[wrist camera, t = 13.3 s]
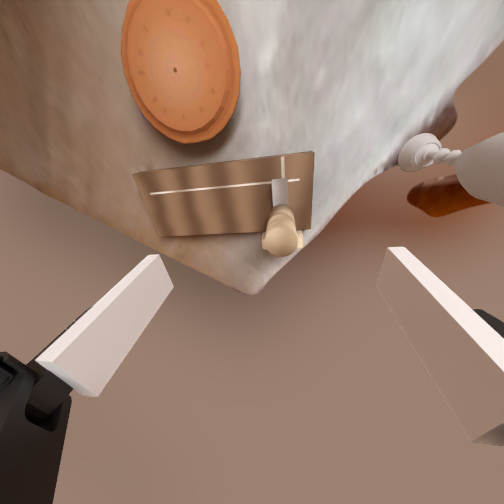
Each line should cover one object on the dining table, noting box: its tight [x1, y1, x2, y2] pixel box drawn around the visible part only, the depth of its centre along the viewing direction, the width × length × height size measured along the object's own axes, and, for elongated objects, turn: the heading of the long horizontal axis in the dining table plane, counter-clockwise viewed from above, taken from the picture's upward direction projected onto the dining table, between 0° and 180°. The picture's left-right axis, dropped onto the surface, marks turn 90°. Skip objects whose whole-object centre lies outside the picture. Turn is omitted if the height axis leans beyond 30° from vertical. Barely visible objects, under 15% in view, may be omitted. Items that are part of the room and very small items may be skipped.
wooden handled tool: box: [262, 178, 303, 257], centre depth 28 cm, size 7×11×14 cm, turn 7°
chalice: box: [398, 132, 504, 206], centre depth 20 cm, size 7×7×18 cm
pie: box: [121, 0, 241, 144], centre depth 25 cm, size 15×16×5 cm
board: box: [132, 151, 314, 237], centre depth 33 cm, size 30×12×3 cm, turn 97°
